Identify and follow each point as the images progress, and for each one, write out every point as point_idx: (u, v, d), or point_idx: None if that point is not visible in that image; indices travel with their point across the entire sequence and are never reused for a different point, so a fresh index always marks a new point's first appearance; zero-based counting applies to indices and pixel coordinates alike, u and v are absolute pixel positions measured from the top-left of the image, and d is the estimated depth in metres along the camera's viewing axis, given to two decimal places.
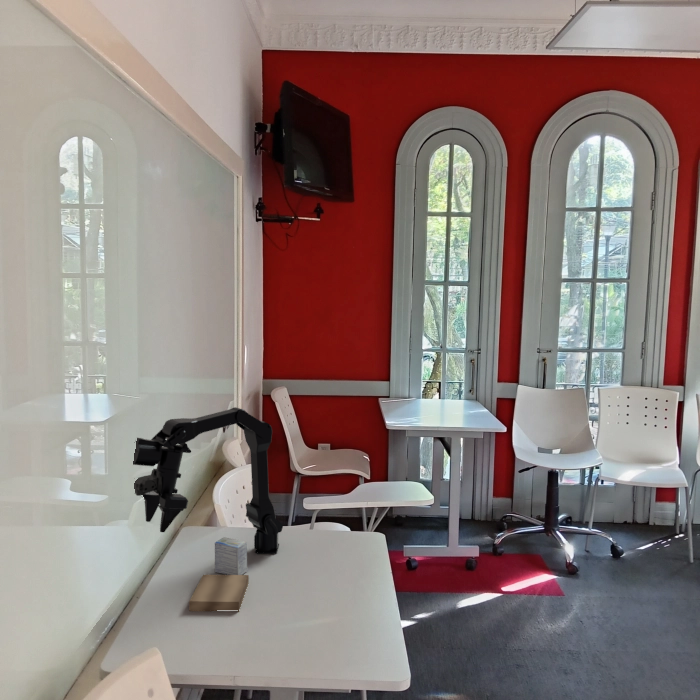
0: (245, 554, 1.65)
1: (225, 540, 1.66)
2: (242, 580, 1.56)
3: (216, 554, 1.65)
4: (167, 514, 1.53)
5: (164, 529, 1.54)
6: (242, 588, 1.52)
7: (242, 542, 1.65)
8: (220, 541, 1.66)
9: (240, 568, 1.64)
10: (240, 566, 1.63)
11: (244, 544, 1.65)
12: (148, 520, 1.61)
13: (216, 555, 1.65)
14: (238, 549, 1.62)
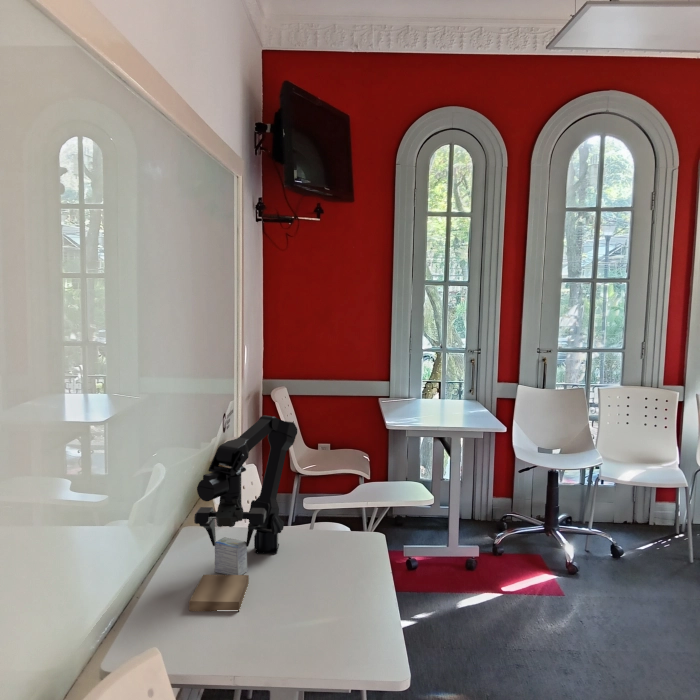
0: (245, 554, 1.65)
1: (225, 540, 1.66)
2: (242, 580, 1.56)
3: (216, 554, 1.65)
4: None
5: None
6: (242, 588, 1.52)
7: (242, 542, 1.65)
8: (220, 541, 1.66)
9: (240, 568, 1.64)
10: (240, 566, 1.63)
11: (244, 544, 1.65)
12: (214, 544, 1.66)
13: (216, 555, 1.65)
14: (238, 549, 1.62)
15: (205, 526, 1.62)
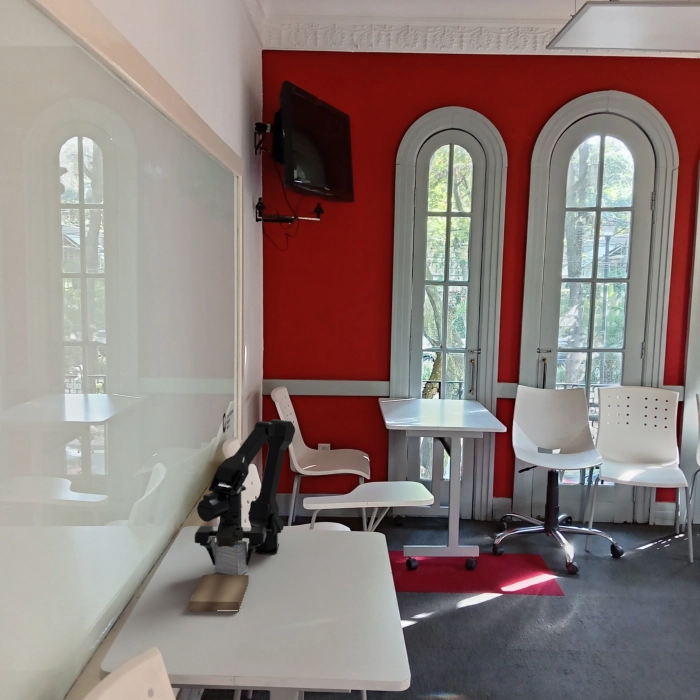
0: (245, 554, 1.65)
1: None
2: (242, 580, 1.56)
3: (216, 554, 1.65)
4: None
5: None
6: (242, 588, 1.52)
7: (242, 542, 1.65)
8: None
9: (240, 568, 1.64)
10: (240, 566, 1.63)
11: (244, 544, 1.65)
12: None
13: (216, 555, 1.65)
14: (238, 549, 1.62)
15: (205, 545, 1.63)
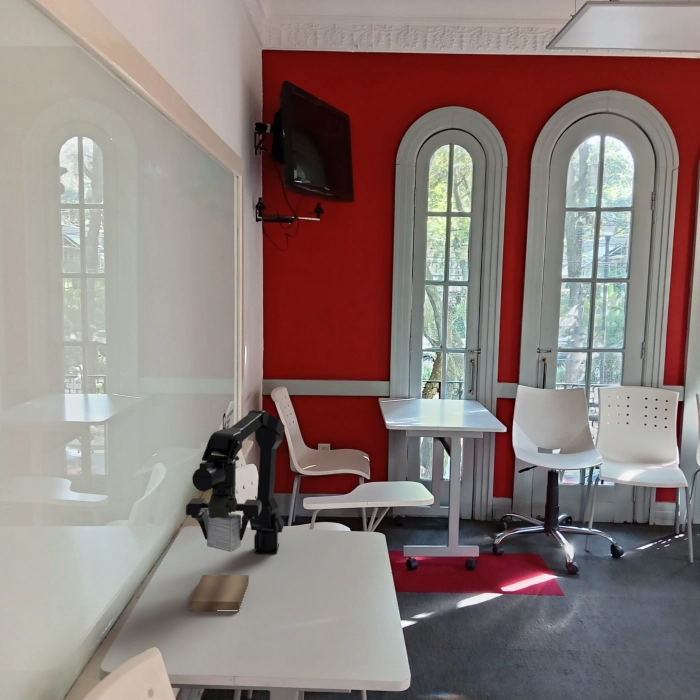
0: (239, 528, 1.57)
1: None
2: (242, 580, 1.56)
3: (208, 527, 1.56)
4: None
5: None
6: (242, 588, 1.52)
7: (236, 515, 1.56)
8: None
9: (234, 543, 1.55)
10: (233, 540, 1.54)
11: (239, 518, 1.56)
12: None
13: (208, 528, 1.56)
14: (231, 522, 1.53)
15: (197, 518, 1.54)
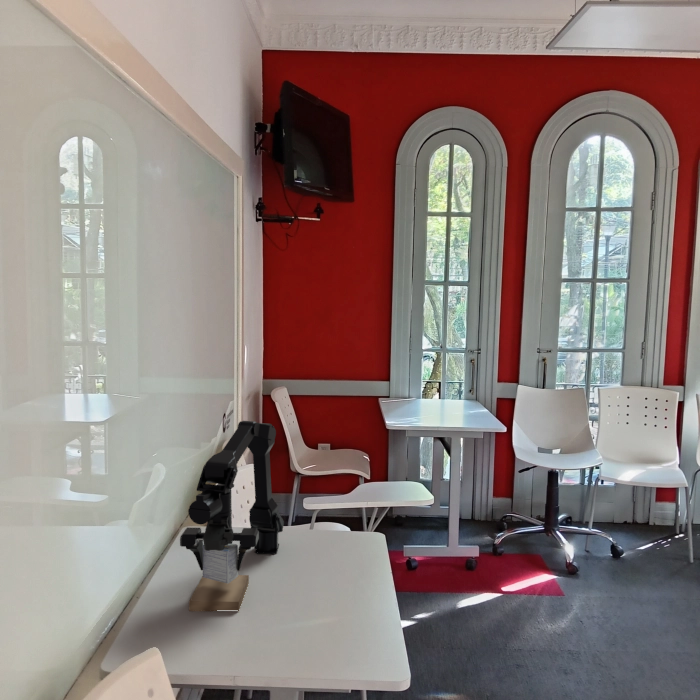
0: (236, 558, 1.51)
1: None
2: (242, 580, 1.56)
3: (204, 558, 1.51)
4: None
5: None
6: (242, 588, 1.52)
7: (233, 545, 1.51)
8: None
9: (231, 574, 1.49)
10: (230, 571, 1.49)
11: (235, 548, 1.51)
12: None
13: (204, 559, 1.51)
14: (228, 553, 1.48)
15: (192, 549, 1.49)
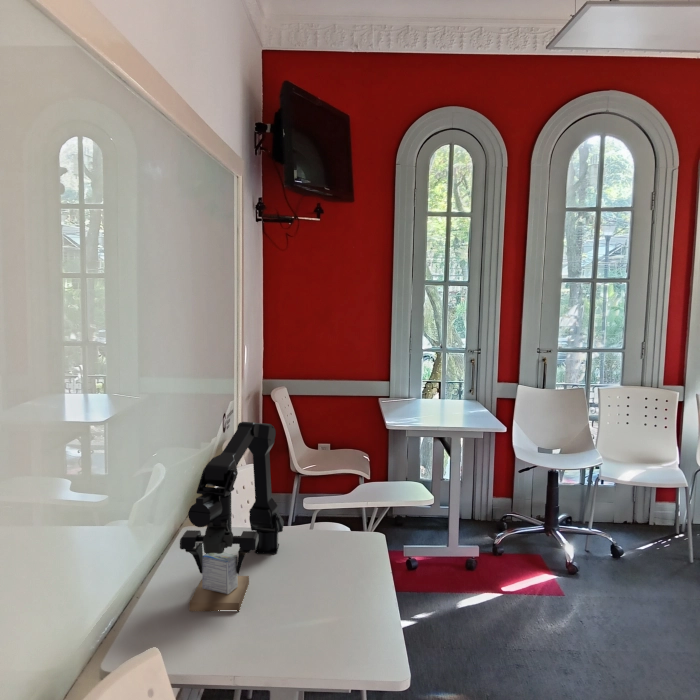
0: (235, 569, 1.51)
1: (214, 553, 1.52)
2: (242, 581, 1.56)
3: (203, 569, 1.51)
4: None
5: None
6: (242, 589, 1.52)
7: (232, 555, 1.51)
8: (208, 555, 1.52)
9: (230, 584, 1.50)
10: (230, 582, 1.49)
11: (235, 558, 1.51)
12: None
13: (203, 570, 1.51)
14: (227, 564, 1.48)
15: (191, 552, 1.49)
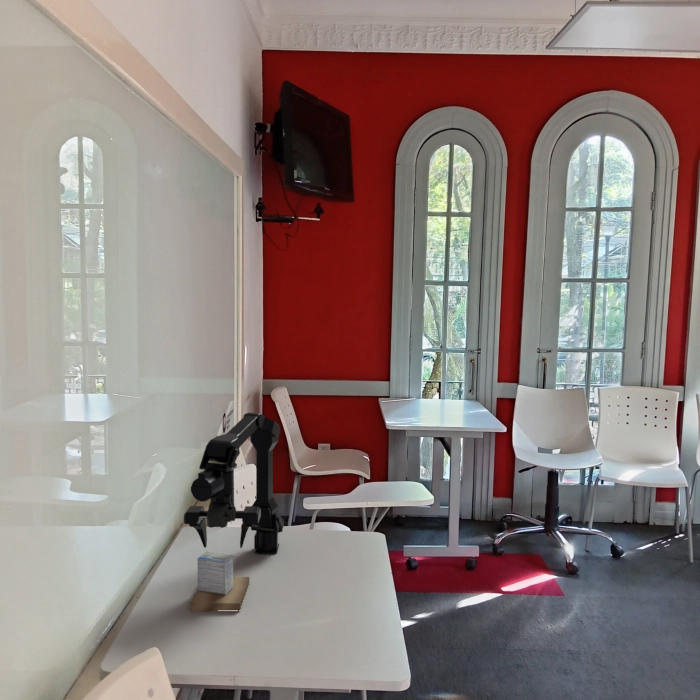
0: (232, 569, 1.52)
1: (209, 555, 1.52)
2: (243, 582, 1.56)
3: (199, 571, 1.50)
4: None
5: None
6: (243, 590, 1.52)
7: (228, 556, 1.51)
8: (203, 556, 1.51)
9: (227, 585, 1.50)
10: (227, 582, 1.49)
11: (231, 558, 1.51)
12: None
13: (199, 572, 1.50)
14: (225, 564, 1.48)
15: (195, 526, 1.51)
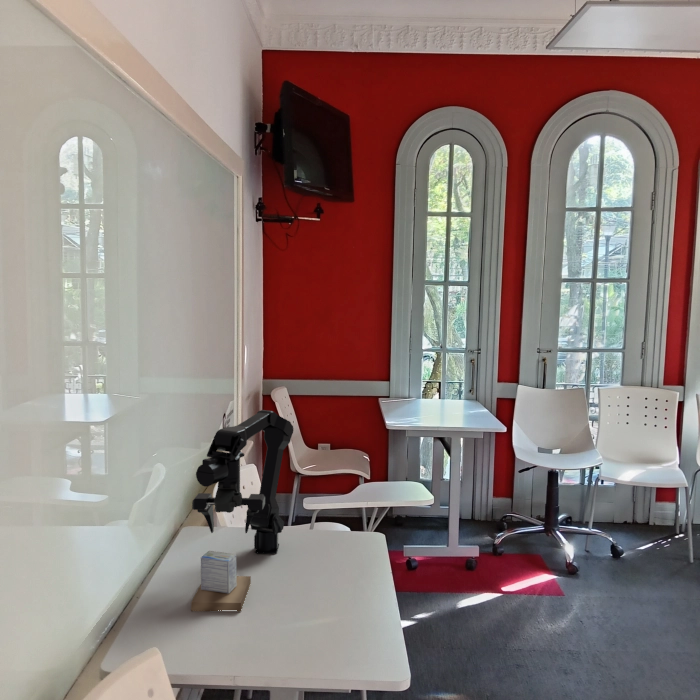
0: (235, 568, 1.52)
1: (212, 554, 1.52)
2: (244, 581, 1.56)
3: (202, 570, 1.50)
4: None
5: None
6: (244, 589, 1.52)
7: (231, 555, 1.52)
8: (207, 555, 1.51)
9: (231, 584, 1.50)
10: (230, 581, 1.50)
11: (234, 557, 1.51)
12: None
13: (202, 571, 1.51)
14: (229, 563, 1.48)
15: (203, 512, 1.60)
